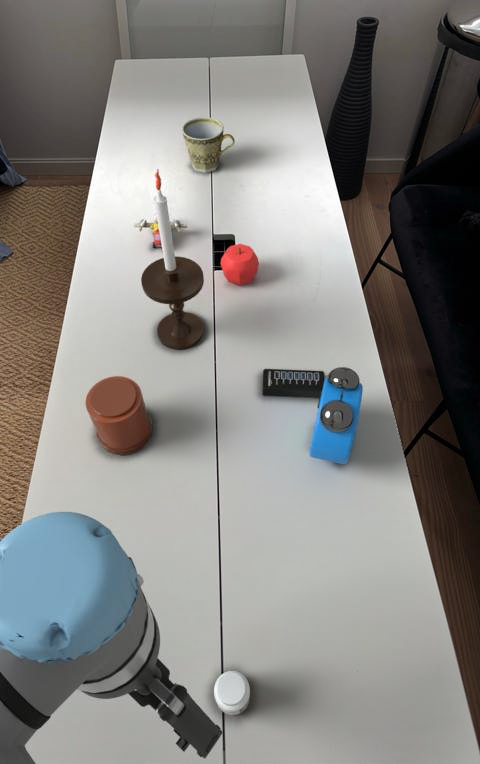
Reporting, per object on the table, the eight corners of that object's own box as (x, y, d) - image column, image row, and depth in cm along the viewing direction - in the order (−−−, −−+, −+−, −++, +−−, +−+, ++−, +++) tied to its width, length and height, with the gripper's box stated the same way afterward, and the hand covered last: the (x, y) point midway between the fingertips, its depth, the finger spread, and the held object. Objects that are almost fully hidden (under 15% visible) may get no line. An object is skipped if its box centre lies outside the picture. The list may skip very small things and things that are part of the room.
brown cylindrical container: (127, 465, 90) (115, 432, 82) (86, 437, 93) (69, 403, 85) (163, 424, 95) (155, 389, 86) (123, 399, 98) (111, 363, 89)
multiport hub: (323, 398, 97) (325, 390, 95) (262, 395, 98) (262, 388, 96) (323, 378, 100) (324, 370, 98) (262, 375, 100) (263, 368, 99)
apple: (258, 290, 113) (259, 261, 107) (220, 290, 113) (218, 261, 107) (259, 264, 118) (259, 234, 111) (222, 264, 118) (220, 234, 112)
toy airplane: (158, 256, 120) (154, 232, 115) (134, 236, 124) (129, 212, 119) (190, 237, 123) (188, 213, 118) (166, 218, 127) (162, 194, 122)
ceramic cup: (179, 173, 138) (175, 135, 130) (194, 151, 143) (191, 114, 135) (228, 182, 135) (227, 144, 127) (241, 160, 141) (240, 122, 133)
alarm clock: (342, 479, 88) (357, 432, 76) (304, 470, 89) (313, 422, 77) (353, 412, 95) (369, 360, 83) (318, 405, 96) (328, 352, 84)
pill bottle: (250, 715, 69) (250, 709, 63) (215, 715, 69) (212, 709, 63) (249, 676, 72) (249, 666, 66) (216, 676, 72) (213, 667, 66)
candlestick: (166, 306, 111) (138, 144, 83) (216, 318, 109) (205, 157, 80) (143, 345, 105) (104, 186, 77) (196, 359, 103) (175, 201, 74)
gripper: (271, 709, 38) (257, 731, 55) (34, 499, 46) (86, 575, 64) (200, 819, 34) (209, 806, 51) (-42, 569, 43) (34, 629, 60)
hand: (141, 678), depth 58 cm, fingers open, 13 cm apart
